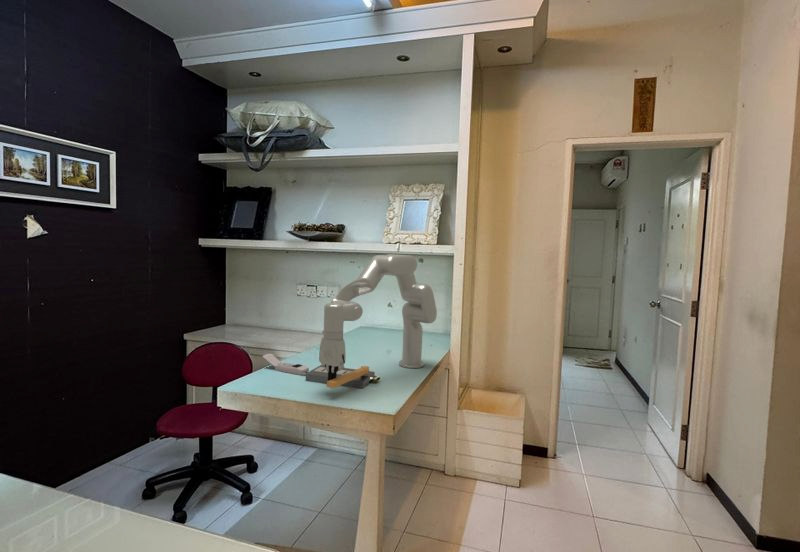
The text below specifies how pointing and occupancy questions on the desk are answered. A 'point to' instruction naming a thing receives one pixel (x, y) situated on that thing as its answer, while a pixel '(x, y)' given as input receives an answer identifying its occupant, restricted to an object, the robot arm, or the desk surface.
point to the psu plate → (322, 376)
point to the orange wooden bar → (348, 377)
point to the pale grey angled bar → (286, 365)
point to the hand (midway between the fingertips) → (332, 381)
